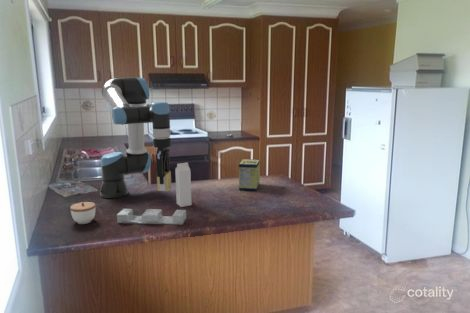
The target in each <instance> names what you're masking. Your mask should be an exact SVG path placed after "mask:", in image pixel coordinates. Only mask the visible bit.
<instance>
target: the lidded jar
mask: <svg viewBox="0 0 470 313" xmlns="http://www.w3.org/2000/svg"><path fill="white" fill-rule="evenodd" d="M69 208H70V214H71V217H72V219H73V221H74V222H76V223H77V224H78V225H85V224H89V223H91V222H92V220H93V219H94V218H95V216H96V210H97V209H96V208H97V207H96V203H95V202H93V201H81V202H77V203H73V204H71V206H70V207H69Z"/></svg>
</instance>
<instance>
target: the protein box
mask: <svg viewBox="0 0 470 313" xmlns="http://www.w3.org/2000/svg"><path fill="white" fill-rule="evenodd" d="M260 162H261V161H260V159H255V158H253V159H251V158H243V159H242V160H241V161H240V162H239V164H238V190H239V191H249V192H250V191H251V192H257V191H258V188H259V186H260V168H261V167H260V165H261V164H260Z"/></svg>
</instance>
